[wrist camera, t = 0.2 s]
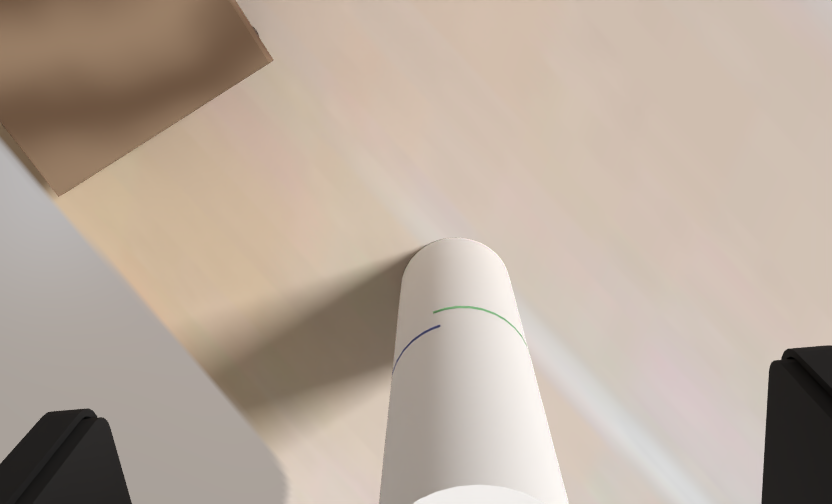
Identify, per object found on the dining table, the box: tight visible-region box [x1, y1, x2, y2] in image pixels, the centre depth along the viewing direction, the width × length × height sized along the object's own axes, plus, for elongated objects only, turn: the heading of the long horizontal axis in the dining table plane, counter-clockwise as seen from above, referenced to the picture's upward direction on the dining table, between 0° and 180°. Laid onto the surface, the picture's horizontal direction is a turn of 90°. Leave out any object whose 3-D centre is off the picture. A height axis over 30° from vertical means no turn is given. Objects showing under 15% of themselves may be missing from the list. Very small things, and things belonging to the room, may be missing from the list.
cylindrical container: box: [379, 237, 569, 504], centre depth 37 cm, size 7×7×25 cm
